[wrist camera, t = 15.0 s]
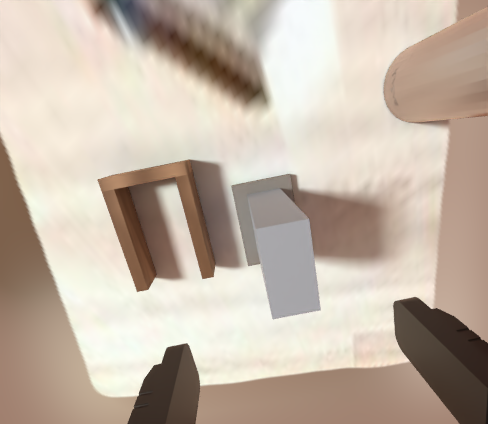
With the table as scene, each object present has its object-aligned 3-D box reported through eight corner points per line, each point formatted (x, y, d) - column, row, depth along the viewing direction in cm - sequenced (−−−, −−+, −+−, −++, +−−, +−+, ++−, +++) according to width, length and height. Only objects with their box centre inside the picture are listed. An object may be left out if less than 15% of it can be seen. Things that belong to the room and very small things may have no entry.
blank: (279, 188, 35) (309, 218, 21) (288, 248, 37) (320, 310, 24) (247, 194, 35) (255, 229, 21) (258, 254, 37) (272, 319, 24)
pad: (288, 173, 35) (290, 174, 34) (300, 252, 39) (302, 255, 38) (231, 185, 35) (231, 186, 34) (247, 263, 39) (248, 266, 38)
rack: (189, 159, 34) (184, 162, 30) (215, 263, 38) (213, 276, 35) (112, 175, 34) (97, 179, 31) (146, 276, 39) (137, 291, 35)
